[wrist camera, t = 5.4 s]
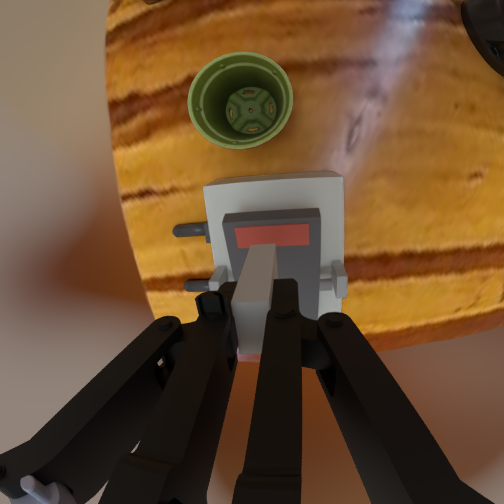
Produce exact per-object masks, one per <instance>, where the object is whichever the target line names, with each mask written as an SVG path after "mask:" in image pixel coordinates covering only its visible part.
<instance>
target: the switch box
mask: <svg viewBox="0 0 504 504" xmlns="http://www.w3.org/2000/svg"><path fill="white" fill-rule="evenodd" d="M203 191H204V199H205V206H206V213H207V221H206V222H205V223H195V224H183V225H176V226H175V227H174V228H173V231H172V232H173V235H174V236H176V237H190V236H204V235H205V236H206V242H207V243H211V246H212V253H213V259H214V265H215V271H214V273H213V274H212V276H211V278H210V280H188V281H186V282H185V283H184V289H185V290H186V291H188V292H207V291H218V288H219V286H221V285H222V284H223V283H224V282H231V281H234V278H233V273H232V269H231V264H230V259H229V255H228V250H227V246H226V241H225V236H224V232H223V227H222V221H223V218H224V215H225V214H226V213H239V212H253V211H268V210H285V209H304V208H319V211H320V215H321V261H320V279H326V278H332V284H333V288H332V290H330V291H319V308H318V319H319V317H320V316H321V315H323V314H325V313H328V312H341V305H342V298H346V294H347V274H346V271H345V269H344V266H343V265H344V187H343V176H341V175H339V174H338V173H336V172H334V171H321V172H298V173H281V174H267V175H254V176H243V177H232V178H223V179H216V180H214V181H212V182H210V183H208V184H207V185H205V186H203Z"/></svg>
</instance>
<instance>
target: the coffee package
mask: <svg viewBox="0 0 504 504" xmlns="http://www.w3.org/2000/svg"><path fill="white" fill-rule="evenodd" d="M143 1H144V2H145V3H147V4H148V5H149V4H153V3H155V2H157V1H159V0H143Z"/></svg>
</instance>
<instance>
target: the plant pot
mask: <svg viewBox="0 0 504 504" xmlns="http://www.w3.org/2000/svg"><path fill="white" fill-rule="evenodd" d="M249 90H252V91H255V93H247V94H243V92H245V91H249ZM269 103H271V104H272V108H273V113H272V114H271V113H270V106H269ZM292 107H293V90H292V86H291V83H290V80H289V78H288V76H287V75H286V73H285V72H284V70H283V69H282V68H281V67H280V66H279V65H278V64H277V63H275V62H274V61H273V60H271V59H270V58H268V57H266V56H263V55H261V54H257V53H253V52H234V53H229V54H226V55H223V56H220V57H218V58H216V59H214V60H213V61H211V62H209V63H208V64H207V65H206V66H205V67H204V68H203V69H202V70H201V71H200V72H199V73H198V74H197V75H196V77H195V79H194V80H193V82H192V84H191V87H190V90H189V94H188V110H189V115H190V118H191V120H192V122H193V124H194V126H195V127H196V129H197V130H198V131H199V133H200V134H201V135H203V136H204V137H205V138H206V139H207V140H209V141H210V142H212V143H214V144H216V145H218V146H221V147H225V148H230V149H246V148H251V147H255V146H258V145H260V144H263V143H265V142H267V141H268V140H270V139H271V138H273V137H274V136H275V135H277V133H278V132H279V131H280V130H281V129H282V128H283V127H284V125H285V124H286V122H287V121H288V119H289V117H290V114H291V111H292ZM230 108H232V116H233V119H232V118H230V113H229V110H230ZM249 108H252V109H253V111H252V112H249ZM258 127H259V129H258V130H255V131H248V130H247V129H248V128H258Z"/></svg>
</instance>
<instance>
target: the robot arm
mask: <svg viewBox="0 0 504 504" xmlns="http://www.w3.org/2000/svg"><path fill="white" fill-rule="evenodd" d="M461 12H462V18H463V22H464V25H465V27H466V30H467V32H468V34H469V36H470V38H471V40H472V42H473V43H474V45H475V46H476V48H477V50H478V51H479V52H480V54H481V55H482V56H483V58H484V59H485V60H486V61H487V62H488V64H489V65H490V66H491V67H492V68H493V69H494V70H496V71H497V72H498V73H499V74H501V75H502V76H504V0H464V1H463V3H462V8H461ZM195 301H196V305H197V309H198V314H199V316H198V318H197V320H196V321H195V322H191V323H185V324H181V322H180V320H179V319H178V318H177V317H175V316H164V317H161V318H158V319H157V320H155V321H154V322H153V323H152V324H150V326H148V327H147V328H146V329H145V330H144V331H143V332H142V333H141V334H140V335H139V336H138V337H137V338H136V339H134V340H133V341H132V342H131V343H130V344H129V345H128V346H127V347H126V348H125V349H124V350H123V351H122V352H121V353H119V354H118V355H117V356H116V357H115V358H114V359H113V360H112V361H111V362H110V363H109V364H108V365H107V366H106V367H105V368H104V369H102V371H100V372H99V373H98V374H97V375H96V376H95V377H94V378H93V379H92V380H91V381H90V382H89V383H88V384H87V385H86V386H85V387H84V388H83V389H81V390H80V392H78V393H77V394H76V395H75V396H74V397H73V398H72V399H71V400H70V401H69V402H68V403H67V404H66V405H65V406H64V407H63V408H62V409H61V410H60V411H59V412H58V413H57V414H56V415H55V416H54V417H53V418H52V419H51V420H50V421H48V423H46V424H45V426H43V427H42V428H41V429H40V430H39V431H38V432H37V433H36V434H35V435H34V436H33V437H32V438H31V439H30V440H29V441H27V442H25V443H23V444H21V445H19V446H17V447H15V448H13V449H11V450H9V451H7V452H5V453H3V454H0V491H1V492H2V493H3V494H5V495H6V496H8V497H9V499H10V501H11V504H85V503H86V502H87V501H89V500H90V499H91V498H92V497H94V496H95V495H96V494H97V493H98V492H99V490H100V489H101V488H102V487H103V486H104V485H105V483H106V482H107V481H108V480H109V481H108V483H107V485H106V487H105V490H104V492H103V494H102V496H101V498H100V501H99V503H98V504H207V490H208V485H209V481H210V477H211V473H212V469H213V465H214V461H215V456H216V452H217V448H218V444H219V440H220V435H221V431H222V427H223V423H224V419H225V414H226V410H227V406H228V402H229V397H230V393H231V388H232V384H233V380H234V376H235V371H236V367H237V363H238V358H237V353H236V352H237V348H239V353H240V354H261V359H260V367H259V374H258V380H257V387H256V393H255V400H254V406H253V413H252V419H251V426H250V431H249V438H248V444H247V450H246V456H245V462H244V468H243V471H242V473H241V474H240V475H239V476H238V478H237V480H236V485H235V489H234V494H233V499H232V504H301V482H302V480H301V479H302V477H301V466H302V367H307V368H312V369H316V374H317V376H318V379H319V381H320V383H321V385H322V388H323V390H324V393H325V394H326V397H327V400H328V402H329V404H330V407H331V409H332V411H333V413H334V416H335V418H336V421H337V423H338V425H339V427H340V430H341V432H342V435H343V437H344V439H345V442H346V444H347V446H348V449H349V451H350V454H351V456H352V458H353V461H354V463H355V465H356V468H357V470H358V473H359V475H360V477H361V480H362V482H363V485H364V487H365V489H366V492H367V494H368V496H369V499H370V501H371V504H494V503H493V502H491V501H490V500H488V499H487V498H485V497H484V496H482V495H481V494H479V493H478V492H477V491H475V490H474V489H472V488H471V487H469V486H468V485H467V484H465V483H464V482H462V481H461V480H460V479H459V478H458V476H457V474H456V472H455V471H454V469H453V467H452V466H451V464H450V463H449V461H448V459H447V458H446V456H445V455H444V453H443V451H442V450H441V448H440V447H439V445H438V443H437V442H436V440H435V439H434V437H433V436H432V434H431V433H430V431H429V429H428V428H427V426H426V425H425V423H424V422H423V420H422V419H421V417H420V416H419V414H418V413H417V411H416V410H415V408H414V407H413V405H412V404H411V402H410V401H409V399H408V398H407V397H406V395H405V394H404V392H403V391H402V390H401V388H400V386H399V385H398V383H397V382H396V380H395V379H394V378H393V376H392V375H391V373H390V372H389V371H388V369H387V368H386V366H385V365H384V363H383V362H382V361H381V359H380V358H379V356H378V355H377V354H376V352H375V351H374V349H373V348H372V347H371V345H370V344H369V343H368V341H367V340H366V338H365V337H364V336H363V334H362V333H361V332H360V330H359V329H358V328H357V326H356V325H355V323H354V322H353V321H352V319H351V318H350V317H349V316H348V315H346V314H344V313H341V312H328V313H325V314H323V315H321V316H320V317H319V319H318V320H313V319H309V318H306V317H304V316H303V315H302V314H301V313H300V311H299V296H298V283H297V281H296V280H295V279H294V278H286V279H278V269H277V256H276V244H260V245H251V246H250V249H249V252H248V254H247V257H246V260H245V263H244V266H243V269H242V272H241V275H240V277H239V280H238V281H231V282H224V283H223V284H222V285H221V286H219V288H218V291H207V292H204V293H201V294H200V295H198V296H197V297H196V298H195ZM161 358H162V361H163V363H162V364H161V365H160V366H158V363H157V362H158V361H159V360H160V359H161ZM139 441H140V443H139V445H138V447H137V449H136V450H135V452H133V453H131V451H132V450H133V449H134V448H135V446H136V445H137V444H138V442H139Z"/></svg>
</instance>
